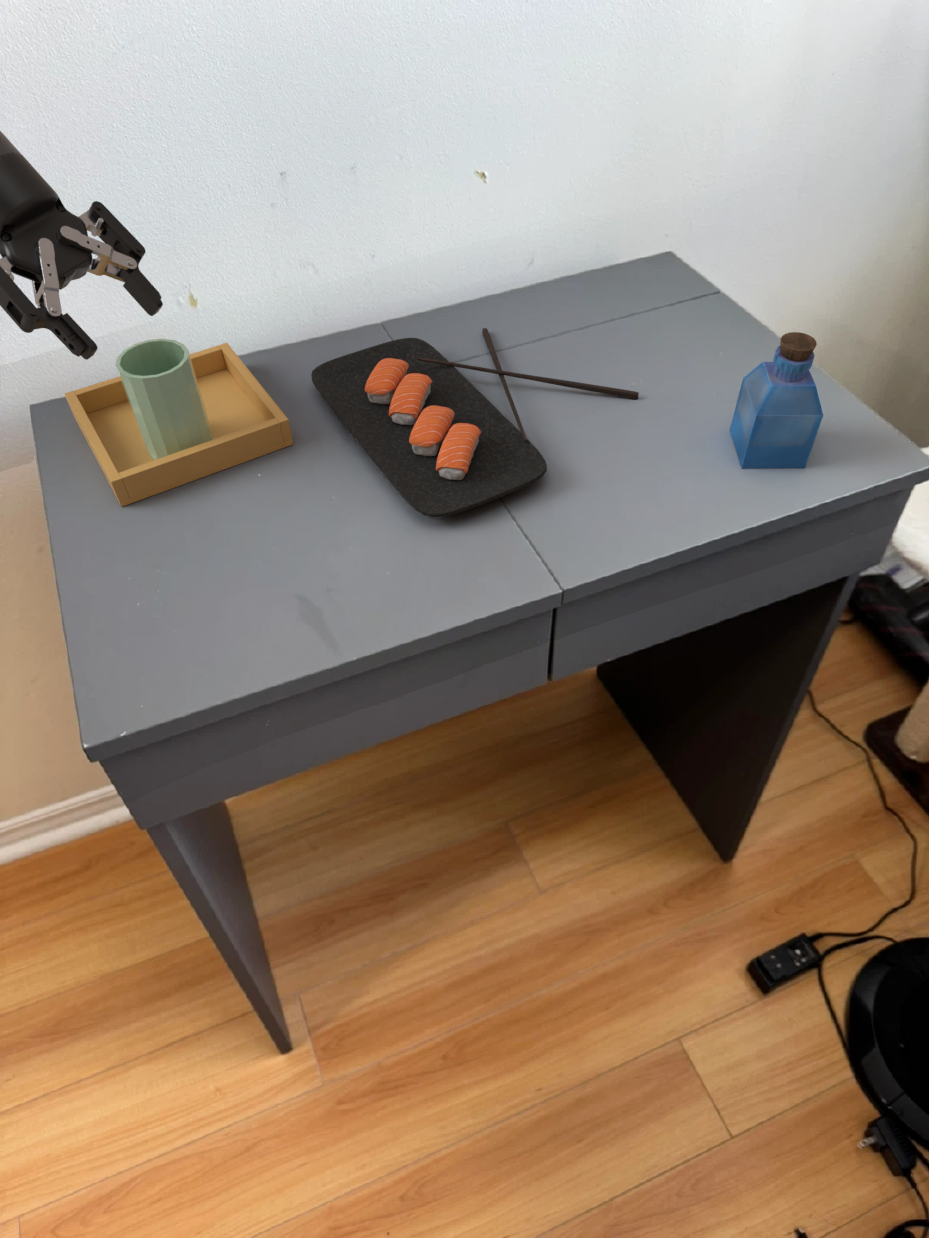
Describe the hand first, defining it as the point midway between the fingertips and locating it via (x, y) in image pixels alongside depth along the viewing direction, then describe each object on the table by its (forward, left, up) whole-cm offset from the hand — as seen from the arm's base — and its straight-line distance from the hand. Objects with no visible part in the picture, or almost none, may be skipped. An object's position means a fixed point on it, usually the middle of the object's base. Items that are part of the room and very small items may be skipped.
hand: (126, 331), depth 81 cm
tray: (+2, +1, -13) cm, 13 cm away
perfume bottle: (+51, -34, -13) cm, 63 cm away
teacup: (+1, -2, -12) cm, 12 cm away
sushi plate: (+31, -13, -13) cm, 36 cm away
